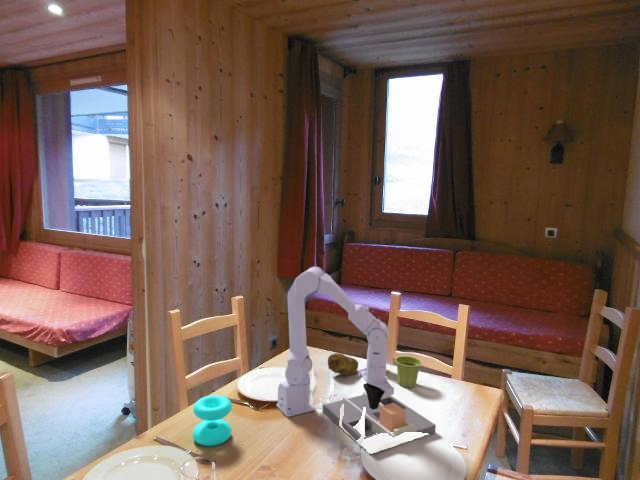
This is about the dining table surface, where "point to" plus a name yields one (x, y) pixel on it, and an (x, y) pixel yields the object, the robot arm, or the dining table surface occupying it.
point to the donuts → (212, 420)
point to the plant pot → (407, 370)
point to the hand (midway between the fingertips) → (373, 408)
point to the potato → (342, 364)
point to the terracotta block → (392, 416)
